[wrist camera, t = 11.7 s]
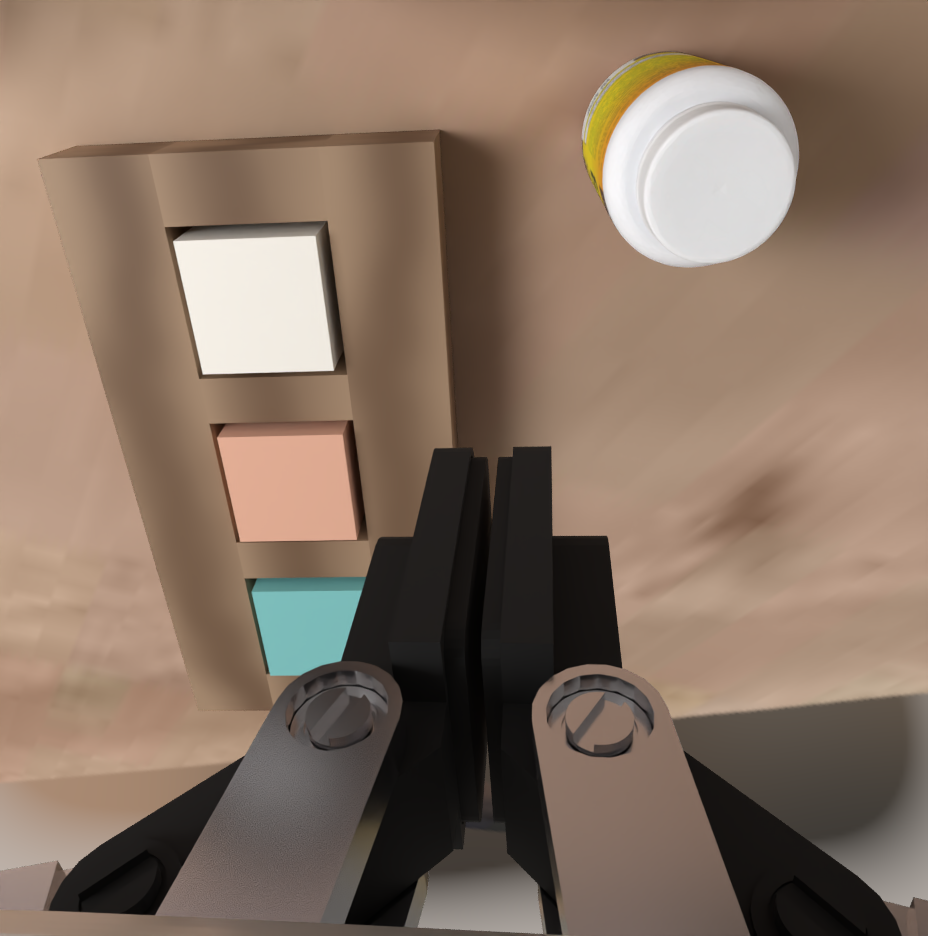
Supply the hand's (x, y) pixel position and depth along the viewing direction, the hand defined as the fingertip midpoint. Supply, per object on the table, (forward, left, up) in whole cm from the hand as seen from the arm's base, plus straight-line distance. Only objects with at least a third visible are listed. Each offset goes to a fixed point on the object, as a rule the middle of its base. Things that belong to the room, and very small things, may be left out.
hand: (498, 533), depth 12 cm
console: (+9, +11, -23) cm, 27 cm away
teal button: (+9, +19, -22) cm, 30 cm away
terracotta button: (+9, +11, -22) cm, 26 cm away
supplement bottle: (-6, -2, -23) cm, 24 cm away
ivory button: (+9, +3, -22) cm, 24 cm away
